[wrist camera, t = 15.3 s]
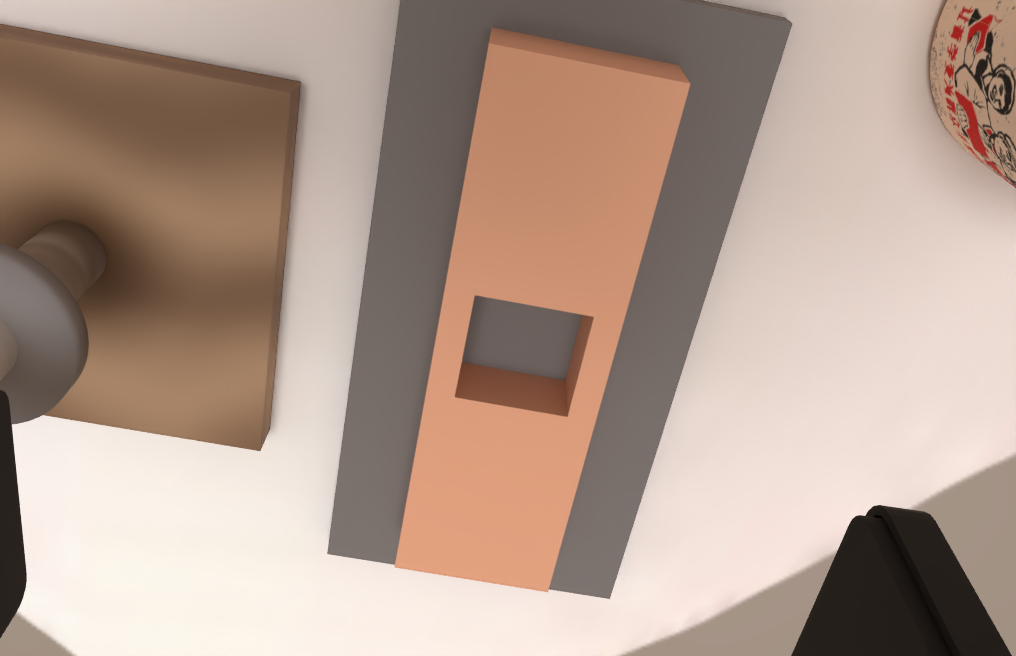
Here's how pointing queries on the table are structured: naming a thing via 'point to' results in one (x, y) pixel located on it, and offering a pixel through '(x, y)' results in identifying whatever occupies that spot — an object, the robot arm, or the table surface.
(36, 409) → the stand
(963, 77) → the teacup with lid
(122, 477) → the table surface
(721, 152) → the mat
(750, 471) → the table surface
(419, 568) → the link
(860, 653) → the robot arm
